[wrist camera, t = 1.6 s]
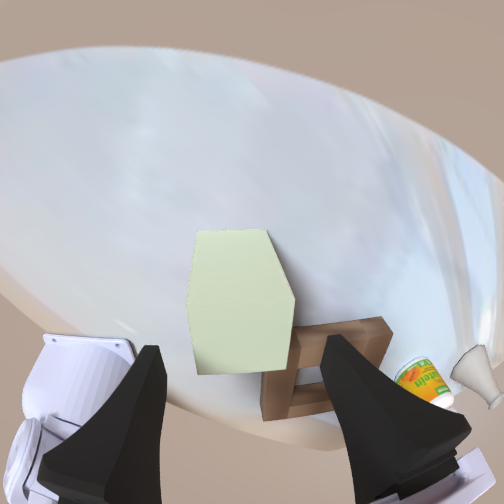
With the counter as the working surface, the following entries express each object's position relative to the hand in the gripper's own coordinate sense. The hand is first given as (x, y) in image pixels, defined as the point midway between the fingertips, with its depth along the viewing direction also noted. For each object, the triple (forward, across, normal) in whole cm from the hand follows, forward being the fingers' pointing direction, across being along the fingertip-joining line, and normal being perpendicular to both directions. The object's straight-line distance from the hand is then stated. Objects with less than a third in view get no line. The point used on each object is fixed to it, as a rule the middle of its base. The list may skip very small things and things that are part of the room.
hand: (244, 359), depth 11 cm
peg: (+9, 0, 0) cm, 9 cm away
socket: (+9, -8, +12) cm, 17 cm away
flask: (+9, -36, +20) cm, 42 cm away
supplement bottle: (+9, -22, +17) cm, 29 cm away
